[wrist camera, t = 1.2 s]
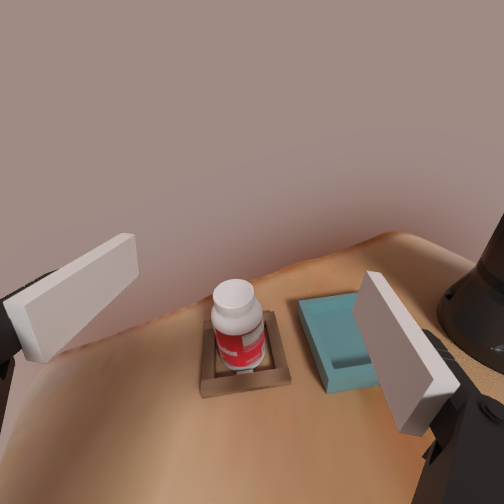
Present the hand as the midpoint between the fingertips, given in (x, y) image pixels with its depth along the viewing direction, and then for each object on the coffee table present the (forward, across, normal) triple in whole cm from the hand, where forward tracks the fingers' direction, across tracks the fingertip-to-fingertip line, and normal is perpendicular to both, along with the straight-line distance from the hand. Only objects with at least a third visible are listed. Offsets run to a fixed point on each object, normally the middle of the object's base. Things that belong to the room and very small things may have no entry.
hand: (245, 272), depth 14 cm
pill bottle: (+12, 0, -20) cm, 23 cm away
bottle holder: (+12, 0, -20) cm, 23 cm away
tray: (+14, +15, -17) cm, 26 cm away
